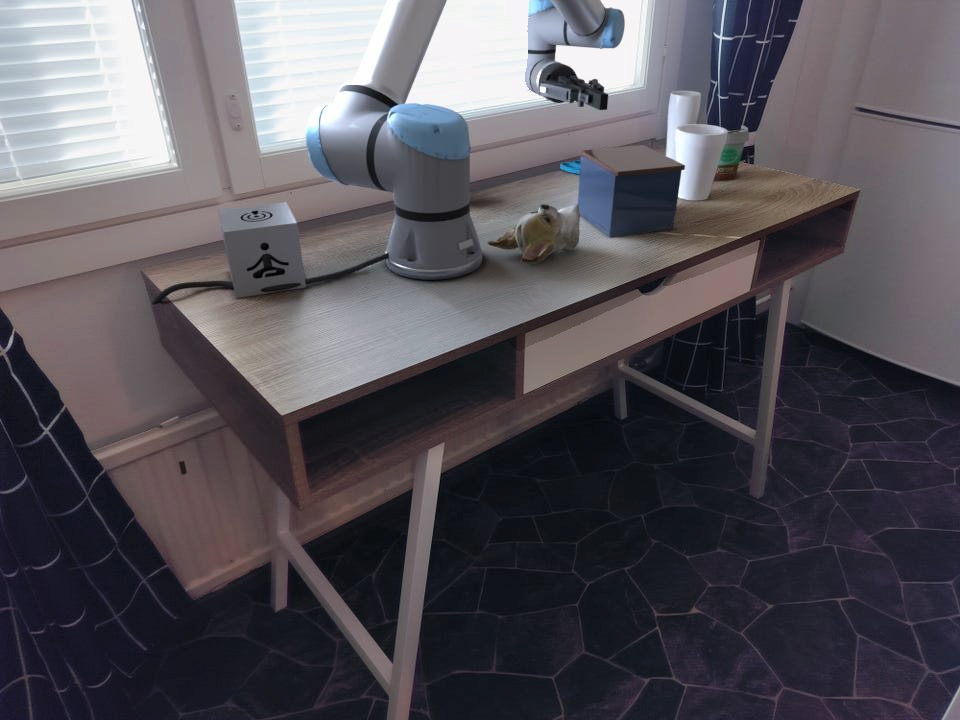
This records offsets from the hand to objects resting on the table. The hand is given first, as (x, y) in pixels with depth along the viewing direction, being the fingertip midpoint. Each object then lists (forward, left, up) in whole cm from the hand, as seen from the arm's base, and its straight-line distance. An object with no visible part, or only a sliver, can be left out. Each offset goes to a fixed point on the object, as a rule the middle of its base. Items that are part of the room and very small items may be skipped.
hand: (604, 102), depth 131 cm
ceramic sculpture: (-21, -22, -19) cm, 36 cm away
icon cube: (-64, -19, -19) cm, 69 cm away
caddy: (0, -12, -19) cm, 22 cm away
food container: (+33, +6, -19) cm, 39 cm away
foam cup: (+20, -3, -19) cm, 28 cm away
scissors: (+8, +15, -19) cm, 26 cm away
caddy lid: (0, -12, -8) cm, 14 cm away
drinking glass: (+31, +21, -19) cm, 42 cm away
